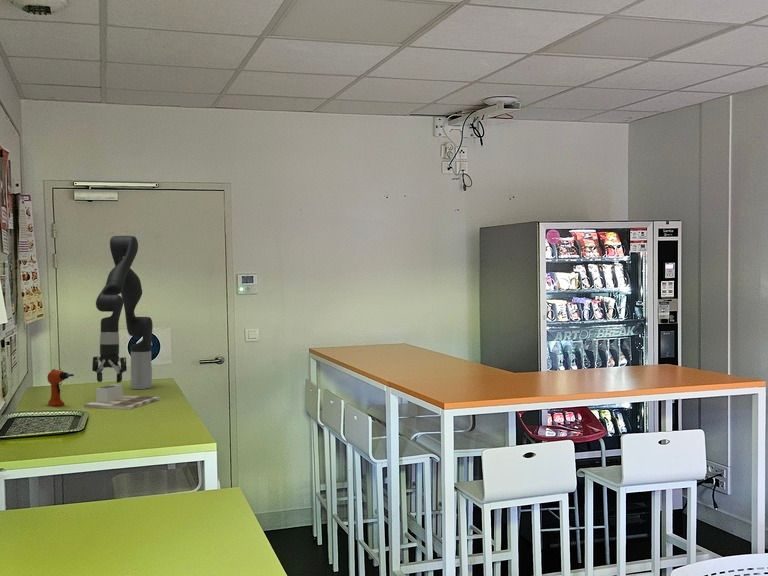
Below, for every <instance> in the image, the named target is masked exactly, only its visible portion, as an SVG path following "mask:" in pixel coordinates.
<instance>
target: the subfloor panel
mask: <svg viewBox="0 0 768 576" xmlns="http://www.w3.org/2000/svg"><path fill="white" fill-rule="evenodd" d="M156 400H157V401H159V400H160V396H155V395H154V396H153V395H126V394H125V395H124V394H123V398H121V399H118V400H114V401H111V402H108V403H104V402H96V400H95V401H92V402H88V403H84V404H83V408H87V409H90V408H91V409H113V410H128V411H129V410H133V409H136V408H139V407H142V406H145V405H147V404H151V403H153V401H154V402H157V401H156Z"/></svg>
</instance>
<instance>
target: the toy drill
mask: <svg viewBox="0 0 768 576" xmlns="http://www.w3.org/2000/svg"><path fill="white" fill-rule="evenodd" d="M74 376H75V375H74V373H68V372H65V371H63V370H56V368H54V369H51V371H50V372H48V373H47V381H48V383H49V384H50V388H51V389H50V390H51V394H50V398H49V400H48V402H47V406H50V407H55V408H56V407H64V406H65V402H64V401H63V400H62V399H61V389H60V388H61V387H60V383H61V382H63V381H64V380H67V379H69V377H70V378H71V377H74Z"/></svg>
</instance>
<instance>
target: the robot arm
mask: <svg viewBox="0 0 768 576" xmlns="http://www.w3.org/2000/svg"><path fill="white" fill-rule="evenodd" d="M109 249H110V253H111V257H112V259H113V263H114V267H113V268H112V269H111V270H110V272H109V273H108V274H107V277H106V278H107V280H106V281H105V285H104V287H103V288H102V290H101V291H100V293H99V294H98V296H97V298H96V300H95V307H96V309H97V310H98V311H99V312H107V313H109V312H110V313H111V312H112V313H111V315H110V316H106V317H103V318H101V320H100V335H99V355H100V356H99V355H98V356H93V357H92V369H91V370H92V372H95V373H96V381H97V382H98V383H101V382H103V371H104V369H106V368H109V369H112V368H113V370H115V372H116V383H117V384H118V383H119V384H120V383H121V382H122V381H123V374H124V373H125V372H127V369H128V368H127V357H126V356H124V357H123V356H122V357H120V355H119V354H120V333H119V331H120V330H119V328H120V327H119V326H120V325H119V323H120V317H121V314H122V309H123V307H124V315H125V316H124V317H125V322H126V323H125V325H126V331H127V334H128V335H129V336H130V337H139V338H141V337H142V339H141V341H139V342H136V343H134V344H132V345H131V346H130V389H132V390H146V389H147V388H148V389H152V387H151V386H153V366H152V346H153V344H152V343H153V320H152V318H151V317H150V316H136V314H135V309H136V307H137V305H138V303H139V302H140V300H141V298H142V295H143V288H142V282H141V279H140V277H139V276H138V275H137V273H135V271H134V270H133V269H132V268H131V267H132V265H133V262H134V261H135V259H136V257H137V255H138V251H139V250H138V249H139V241H138V239H137V237H136V236H134V235H113V236H111V237H110V240H109ZM99 362H100V364H99ZM119 363H120V364H119Z"/></svg>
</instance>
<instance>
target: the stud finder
mask: <svg viewBox="0 0 768 576" xmlns="http://www.w3.org/2000/svg"><path fill="white" fill-rule="evenodd" d="M123 386H124V385H123V384H109V385H105V386H101V387H97V388H96V389H95V401H96V402H104V403H108V402H111V401H114V400H118V399H121V398H123V395H124V387H123Z"/></svg>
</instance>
